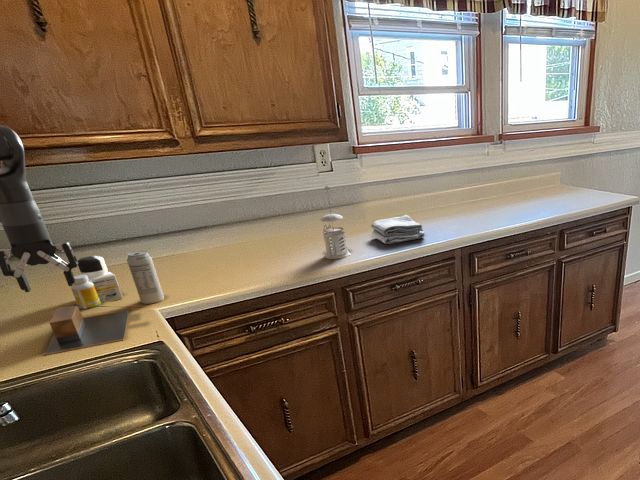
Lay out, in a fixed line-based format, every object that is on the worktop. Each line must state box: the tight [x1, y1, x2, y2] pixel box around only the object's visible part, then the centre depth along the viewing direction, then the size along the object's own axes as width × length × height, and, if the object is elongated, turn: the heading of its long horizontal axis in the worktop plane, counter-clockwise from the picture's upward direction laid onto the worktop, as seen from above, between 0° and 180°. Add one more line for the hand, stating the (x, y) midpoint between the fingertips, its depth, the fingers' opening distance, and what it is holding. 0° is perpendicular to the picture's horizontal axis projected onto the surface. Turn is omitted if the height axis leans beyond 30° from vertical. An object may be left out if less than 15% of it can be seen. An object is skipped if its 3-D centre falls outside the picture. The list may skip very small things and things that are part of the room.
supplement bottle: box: [70, 273, 102, 310], centre depth 148 cm, size 5×5×10 cm
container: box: [77, 255, 124, 303], centre depth 154 cm, size 8×8×13 cm
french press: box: [320, 185, 351, 260], centre depth 188 cm, size 10×12×25 cm
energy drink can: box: [126, 250, 165, 305], centre depth 150 cm, size 6×6×15 cm
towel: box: [370, 214, 425, 245], centre depth 213 cm, size 15×18×8 cm
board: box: [43, 309, 129, 357], centre depth 134 cm, size 16×24×1 cm, turn 29°
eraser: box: [49, 304, 85, 343], centre depth 131 cm, size 4×11×6 cm, turn 29°
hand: (50, 288), depth 126 cm, fingers open, 8 cm apart
